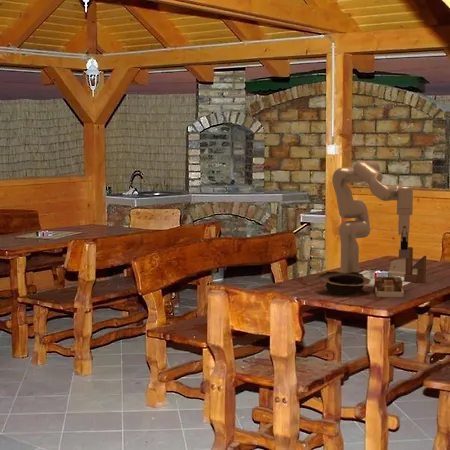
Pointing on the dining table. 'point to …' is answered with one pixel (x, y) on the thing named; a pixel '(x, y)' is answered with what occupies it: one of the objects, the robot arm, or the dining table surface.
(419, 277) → the tan angled rod fixture
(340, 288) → the stone bowl
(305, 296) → the dining table surface
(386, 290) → the birch block
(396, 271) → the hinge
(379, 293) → the tray
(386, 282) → the oak block
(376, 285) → the groove board
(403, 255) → the square grey bottle
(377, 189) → the robot arm
